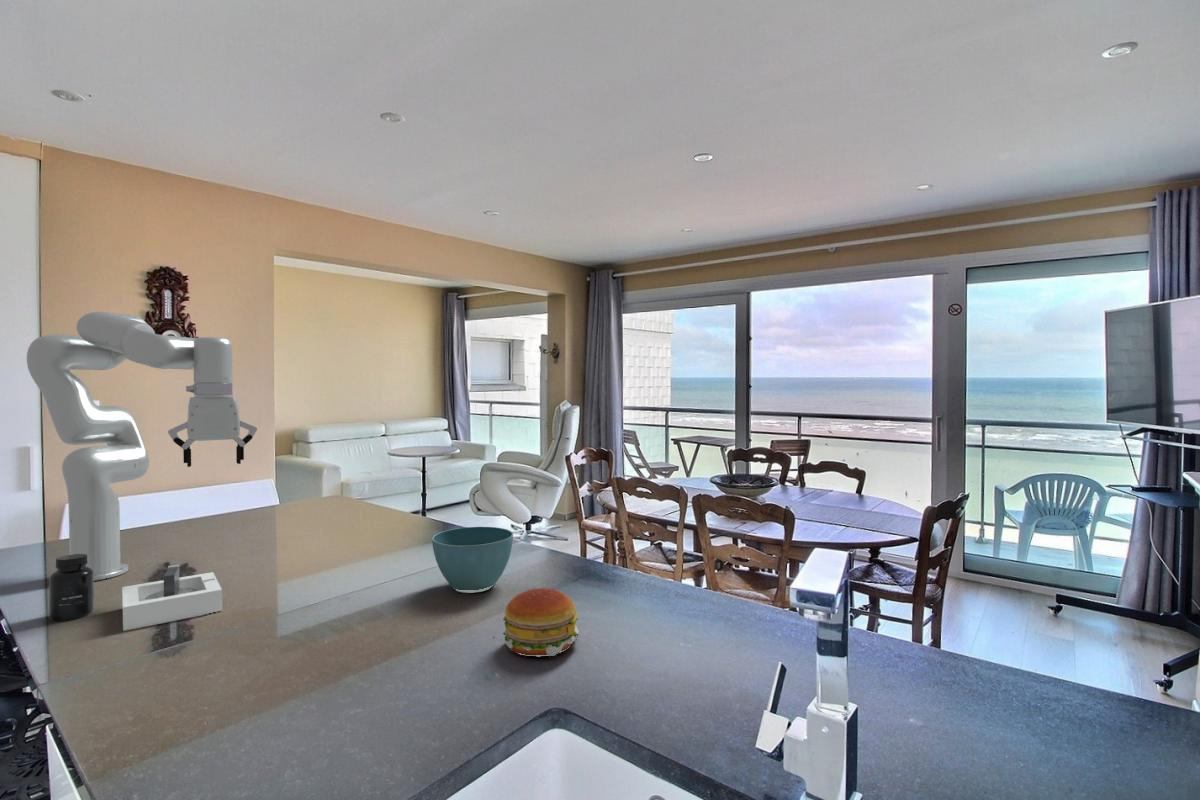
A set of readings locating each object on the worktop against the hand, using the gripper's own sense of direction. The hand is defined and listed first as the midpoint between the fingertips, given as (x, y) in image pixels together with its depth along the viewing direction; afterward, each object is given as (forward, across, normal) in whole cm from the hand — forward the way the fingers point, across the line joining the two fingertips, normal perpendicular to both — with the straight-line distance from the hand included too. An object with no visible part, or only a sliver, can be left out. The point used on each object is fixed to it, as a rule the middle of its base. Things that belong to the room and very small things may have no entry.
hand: (214, 464), depth 138 cm
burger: (+29, +47, -71) cm, 90 cm away
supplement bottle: (+28, -25, -5) cm, 38 cm away
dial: (+27, -8, -13) cm, 31 cm away
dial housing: (+28, -8, -13) cm, 32 cm away
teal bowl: (+28, +49, -35) cm, 67 cm away
